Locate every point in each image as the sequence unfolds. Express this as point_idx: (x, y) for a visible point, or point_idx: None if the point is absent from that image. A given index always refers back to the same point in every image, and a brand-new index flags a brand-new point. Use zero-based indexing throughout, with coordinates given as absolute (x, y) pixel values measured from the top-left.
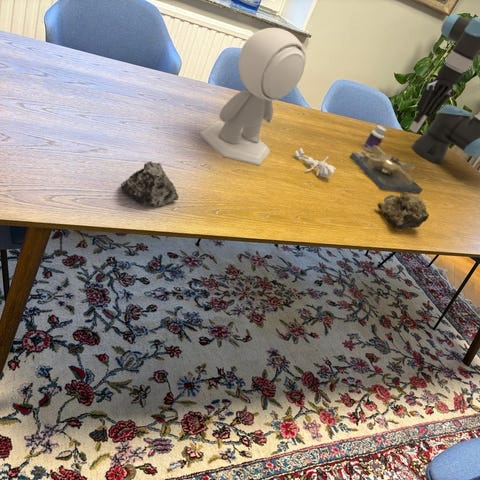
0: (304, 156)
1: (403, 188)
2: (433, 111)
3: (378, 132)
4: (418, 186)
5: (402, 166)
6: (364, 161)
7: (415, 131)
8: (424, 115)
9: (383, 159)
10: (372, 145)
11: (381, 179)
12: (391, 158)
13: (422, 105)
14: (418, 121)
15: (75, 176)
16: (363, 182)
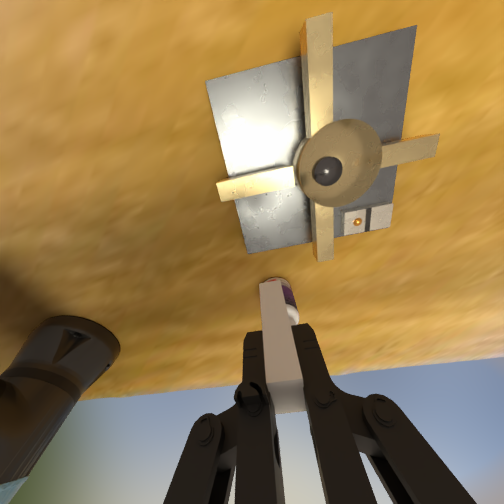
0: None
1: None
2: (215, 467)
3: (291, 319)
4: (217, 100)
5: (275, 169)
6: (378, 190)
7: (272, 284)
8: (291, 386)
9: (382, 156)
10: (286, 288)
11: (394, 77)
12: (338, 175)
13: (461, 497)
14: (297, 333)
15: None
16: (450, 67)
